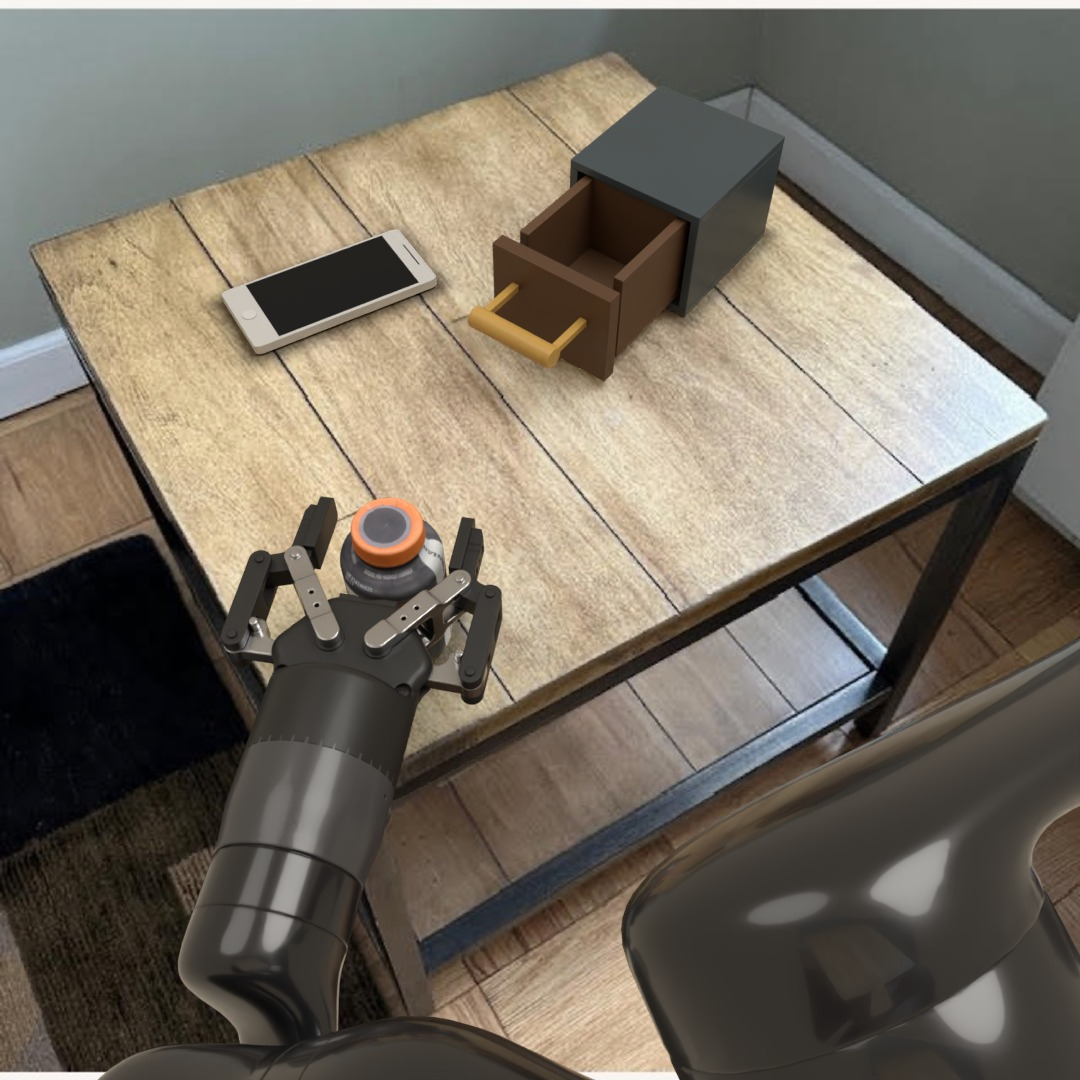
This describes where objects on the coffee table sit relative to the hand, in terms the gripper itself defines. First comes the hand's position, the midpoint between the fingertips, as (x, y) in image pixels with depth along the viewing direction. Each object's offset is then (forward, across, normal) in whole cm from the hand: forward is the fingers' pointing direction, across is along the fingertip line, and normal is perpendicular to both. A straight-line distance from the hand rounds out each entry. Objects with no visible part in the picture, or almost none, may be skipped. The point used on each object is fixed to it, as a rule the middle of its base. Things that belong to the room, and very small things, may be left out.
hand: (399, 515), depth 62 cm
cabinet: (+38, -12, +10) cm, 41 cm away
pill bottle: (-2, 0, +10) cm, 10 cm away
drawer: (+26, -6, +9) cm, 28 cm away
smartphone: (+27, +13, +10) cm, 32 cm away
